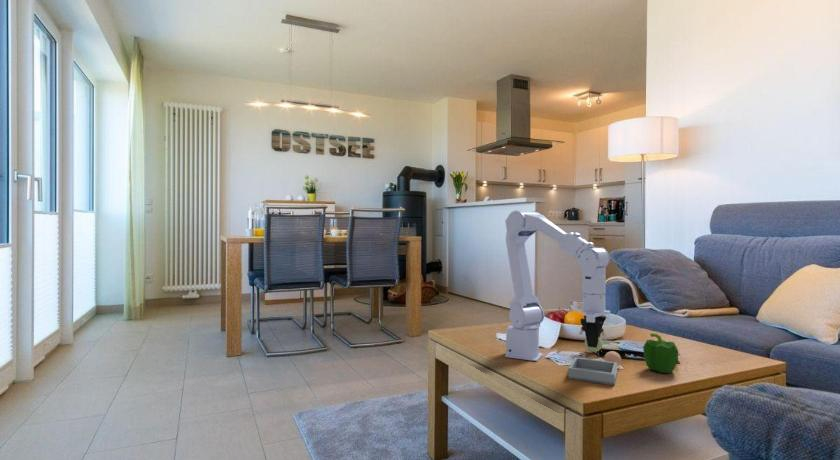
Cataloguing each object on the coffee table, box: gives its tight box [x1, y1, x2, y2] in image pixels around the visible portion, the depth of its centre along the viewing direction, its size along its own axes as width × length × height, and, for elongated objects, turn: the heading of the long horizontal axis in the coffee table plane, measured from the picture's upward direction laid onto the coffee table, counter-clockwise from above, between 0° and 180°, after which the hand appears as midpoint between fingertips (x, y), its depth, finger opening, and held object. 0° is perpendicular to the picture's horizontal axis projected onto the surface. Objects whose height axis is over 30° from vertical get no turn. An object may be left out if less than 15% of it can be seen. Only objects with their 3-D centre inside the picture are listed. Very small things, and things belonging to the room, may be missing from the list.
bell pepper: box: [643, 332, 679, 374], centre depth 124 cm, size 8×8×10 cm
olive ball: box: [584, 336, 603, 353], centre depth 119 cm, size 4×4×4 cm
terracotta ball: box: [603, 350, 622, 368], centre depth 127 cm, size 4×4×4 cm
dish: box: [567, 356, 618, 386], centre depth 119 cm, size 11×11×3 cm
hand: (593, 344), depth 119 cm, fingers closed on olive ball, 4 cm apart
